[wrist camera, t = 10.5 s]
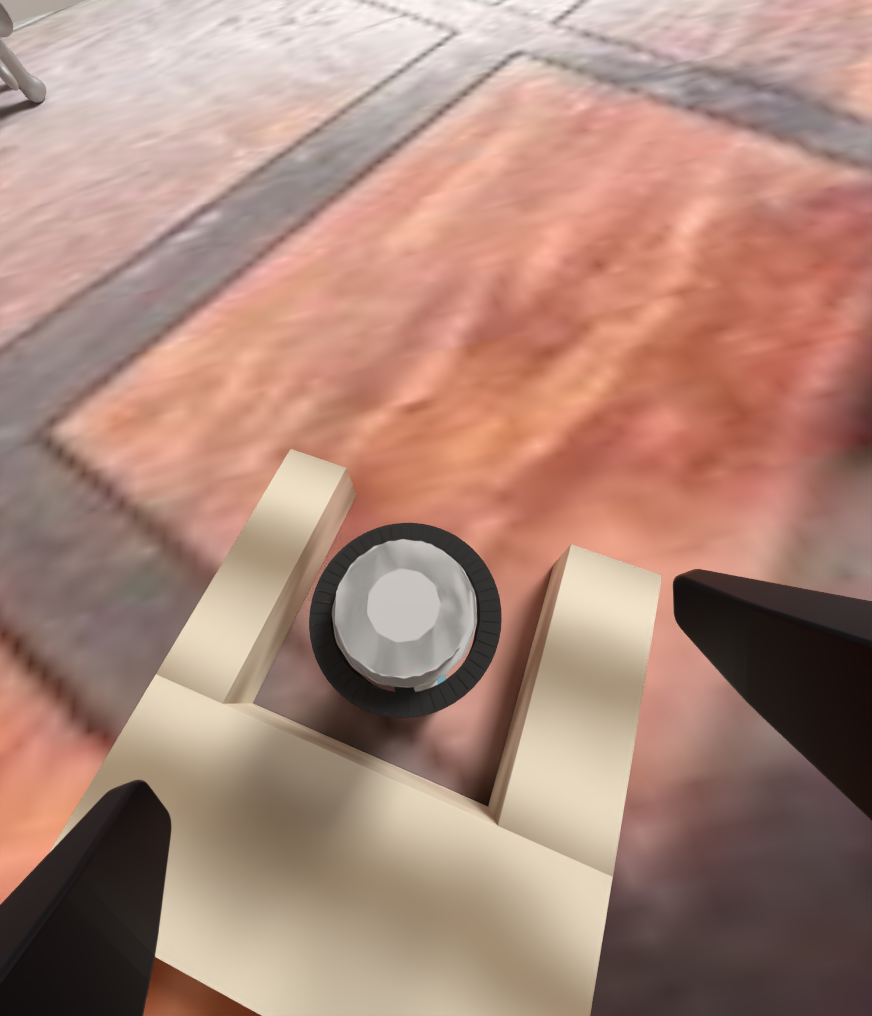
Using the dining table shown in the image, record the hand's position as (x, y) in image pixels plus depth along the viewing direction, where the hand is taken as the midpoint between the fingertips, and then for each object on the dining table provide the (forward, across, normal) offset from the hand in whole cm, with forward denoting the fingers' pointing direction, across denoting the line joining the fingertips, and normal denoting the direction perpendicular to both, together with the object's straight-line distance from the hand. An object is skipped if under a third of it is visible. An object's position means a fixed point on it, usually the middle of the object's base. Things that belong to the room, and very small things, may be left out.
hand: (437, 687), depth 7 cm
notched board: (+10, +2, +10) cm, 14 cm away
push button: (+12, 0, +8) cm, 14 cm away
